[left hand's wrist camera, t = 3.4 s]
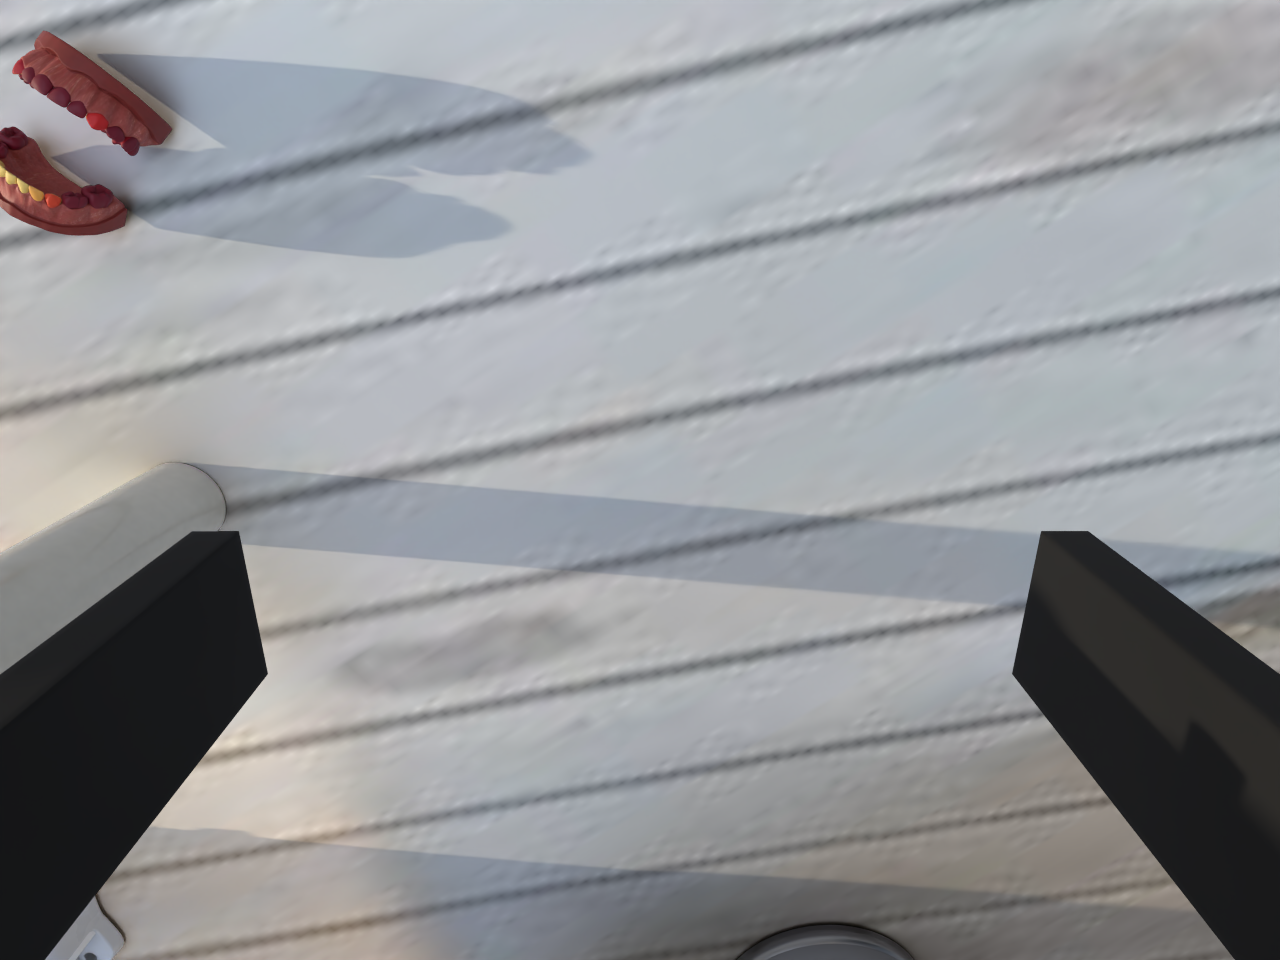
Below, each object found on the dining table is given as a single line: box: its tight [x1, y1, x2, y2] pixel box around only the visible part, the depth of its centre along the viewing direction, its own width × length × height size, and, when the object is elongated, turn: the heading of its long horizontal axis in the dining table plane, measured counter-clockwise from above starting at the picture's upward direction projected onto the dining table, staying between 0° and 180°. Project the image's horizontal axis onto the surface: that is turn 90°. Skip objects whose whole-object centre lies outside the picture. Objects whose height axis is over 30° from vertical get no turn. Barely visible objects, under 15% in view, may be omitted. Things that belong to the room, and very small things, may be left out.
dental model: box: [0, 31, 172, 235], centre depth 34 cm, size 6×4×8 cm
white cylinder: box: [0, 463, 226, 674], centre depth 33 cm, size 5×5×20 cm
